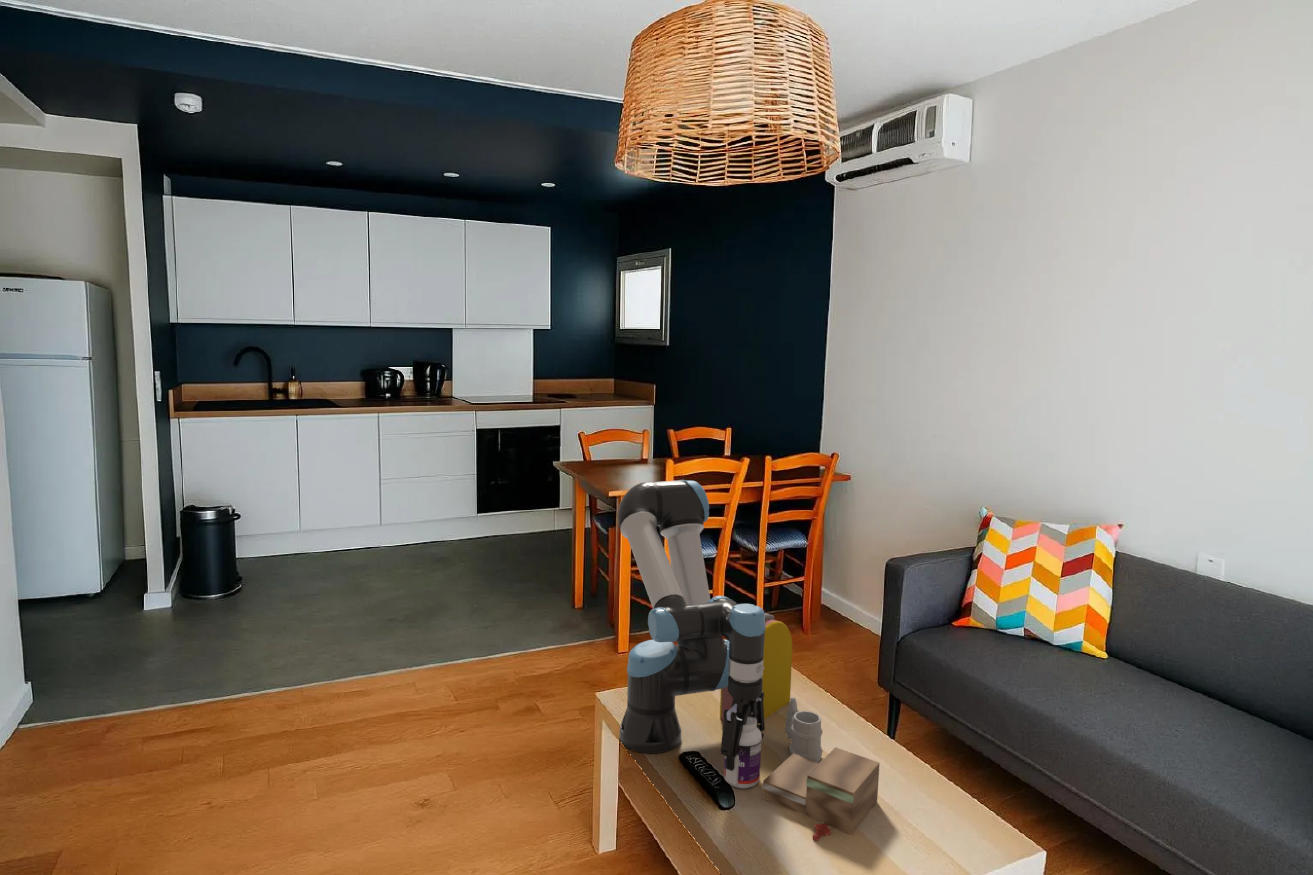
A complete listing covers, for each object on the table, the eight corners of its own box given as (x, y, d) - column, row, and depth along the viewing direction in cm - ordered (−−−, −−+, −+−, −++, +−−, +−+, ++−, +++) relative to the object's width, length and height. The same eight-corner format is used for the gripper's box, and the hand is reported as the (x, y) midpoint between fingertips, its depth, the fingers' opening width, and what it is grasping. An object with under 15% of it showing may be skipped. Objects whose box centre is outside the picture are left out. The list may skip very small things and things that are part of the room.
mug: (801, 768, 180) (804, 719, 178) (772, 743, 190) (774, 696, 189) (828, 760, 183) (831, 712, 181) (798, 737, 194) (800, 691, 192)
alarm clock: (762, 690, 218) (766, 599, 215) (791, 701, 212) (795, 607, 209) (718, 718, 202) (721, 620, 199) (748, 730, 196) (751, 629, 193)
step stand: (748, 811, 163) (750, 771, 162) (792, 769, 179) (794, 732, 178) (838, 850, 151) (841, 807, 150) (877, 801, 167) (879, 762, 166)
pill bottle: (715, 778, 175) (717, 717, 173) (740, 766, 180) (742, 707, 178) (743, 795, 169) (745, 732, 167) (767, 781, 174) (769, 720, 172)
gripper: (735, 698, 161) (732, 800, 164) (783, 664, 177) (779, 758, 180) (705, 687, 165) (702, 787, 168) (754, 656, 182) (750, 747, 185)
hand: (741, 772), depth 174 cm, fingers closed on pill bottle, 8 cm apart
